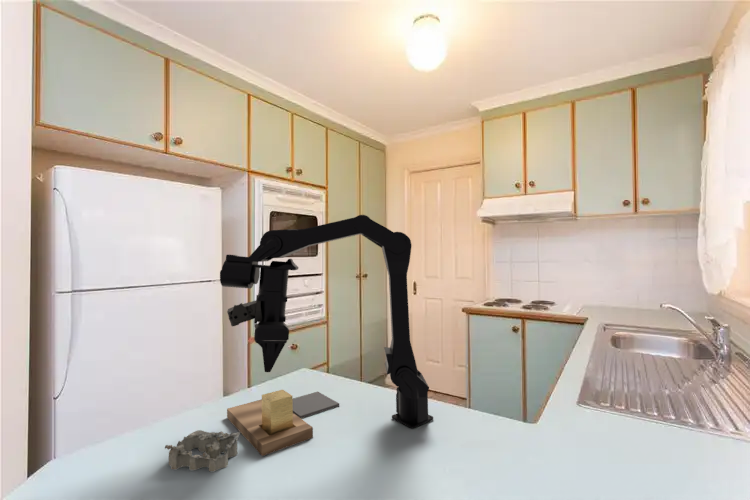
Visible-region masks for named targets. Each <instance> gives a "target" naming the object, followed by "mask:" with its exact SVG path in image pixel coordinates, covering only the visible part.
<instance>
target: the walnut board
mask: <svg viewBox="0 0 750 500" xmlns="http://www.w3.org/2000/svg"><path fill="white" fill-rule="evenodd" d="M226 418H227V420H229V422H230V423H231V424H232V425H233V426H234V427H235V429H236V430H238V432H240V434H241V435H242V436H243V437H244V438H245V439H246V441H248V442H249V444H251V446H252V447H253V448H254V449H255V450H256V451H257V452H258V453H259V454H260V455H261V457H265V456H267V455H270V454H272V453H277V452H278V451H280V450H284V449H286V448H290V447H292V446H294V445H297V444H300V443H303V442H305V441H308V440H309V439H313V438H314V431H313V430H314V428H313V426H312V425H310V424H309V423H307V421H305V420H304V419H303V418H299V417H298V416H297V415H295V414H294V413H293V428H291V429H288V430H285V431H282V432H279V433H276V434H273V435H270V436H269V435H268V434H267V433H266V432H265V431H264V430H263V429H262V398H261V399H259V400H255V401H250V402H246V403H243V404H239V405H236V406H232V407H228V408H226Z"/></svg>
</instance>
